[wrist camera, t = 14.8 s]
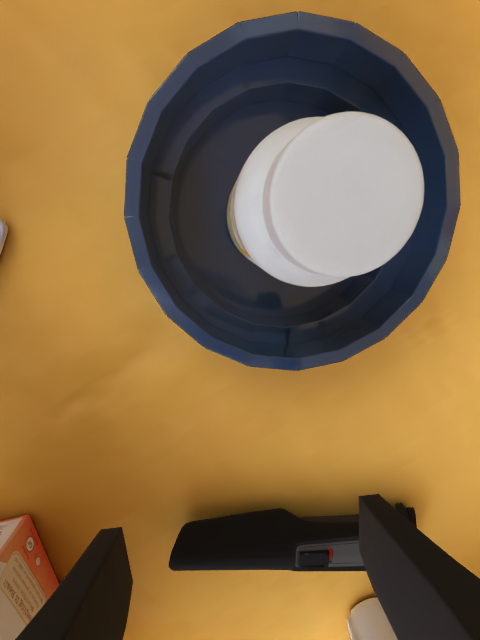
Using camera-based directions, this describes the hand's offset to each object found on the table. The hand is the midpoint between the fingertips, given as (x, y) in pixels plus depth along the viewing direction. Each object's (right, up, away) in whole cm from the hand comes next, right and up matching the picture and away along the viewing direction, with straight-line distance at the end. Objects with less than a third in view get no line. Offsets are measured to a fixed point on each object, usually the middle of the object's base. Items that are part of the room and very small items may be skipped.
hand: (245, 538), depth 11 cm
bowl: (+2, +12, +8) cm, 15 cm away
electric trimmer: (+4, -7, +13) cm, 15 cm away
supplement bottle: (+2, +12, +8) cm, 14 cm away
